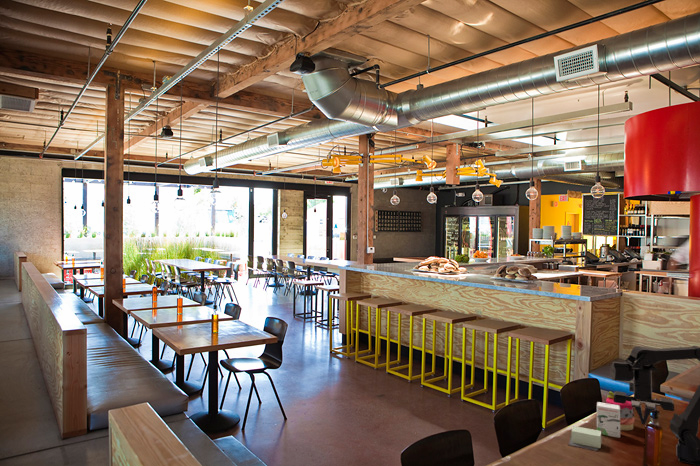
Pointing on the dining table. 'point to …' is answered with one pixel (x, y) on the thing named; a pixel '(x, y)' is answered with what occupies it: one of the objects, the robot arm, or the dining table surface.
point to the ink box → (608, 419)
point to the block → (586, 436)
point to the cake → (623, 412)
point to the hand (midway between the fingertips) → (643, 424)
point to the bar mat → (582, 445)
